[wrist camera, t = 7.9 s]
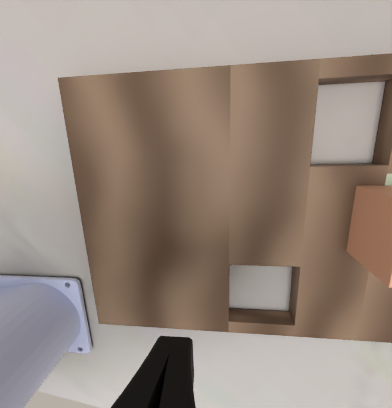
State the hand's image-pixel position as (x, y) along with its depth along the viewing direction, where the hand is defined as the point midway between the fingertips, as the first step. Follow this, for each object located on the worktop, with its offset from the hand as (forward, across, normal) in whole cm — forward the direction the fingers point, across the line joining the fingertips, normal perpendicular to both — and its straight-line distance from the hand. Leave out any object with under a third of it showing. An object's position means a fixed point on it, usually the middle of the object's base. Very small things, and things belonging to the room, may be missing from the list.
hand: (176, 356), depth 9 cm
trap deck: (+9, -4, -4) cm, 11 cm away
